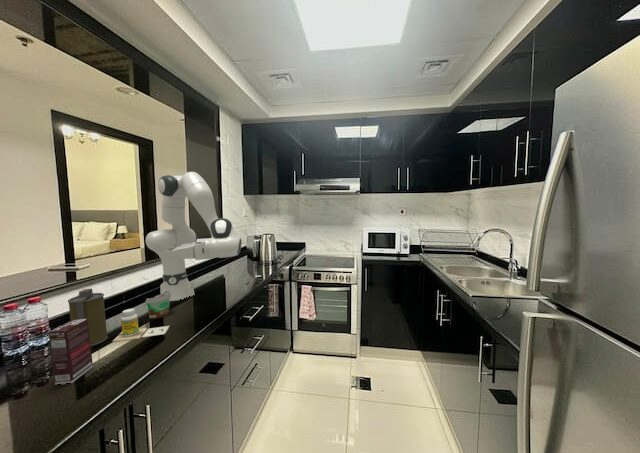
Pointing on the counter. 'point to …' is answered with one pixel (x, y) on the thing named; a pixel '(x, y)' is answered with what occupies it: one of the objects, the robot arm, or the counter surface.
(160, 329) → the tile
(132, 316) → the supplement bottle
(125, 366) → the counter surface
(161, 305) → the food container
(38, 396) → the counter surface
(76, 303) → the canister
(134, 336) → the coaster
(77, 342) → the supplement box
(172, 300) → the robot arm
